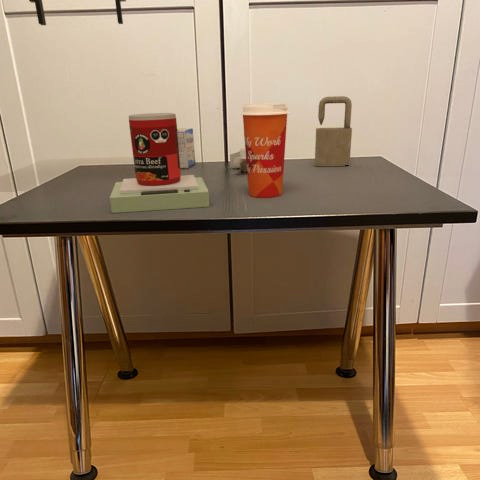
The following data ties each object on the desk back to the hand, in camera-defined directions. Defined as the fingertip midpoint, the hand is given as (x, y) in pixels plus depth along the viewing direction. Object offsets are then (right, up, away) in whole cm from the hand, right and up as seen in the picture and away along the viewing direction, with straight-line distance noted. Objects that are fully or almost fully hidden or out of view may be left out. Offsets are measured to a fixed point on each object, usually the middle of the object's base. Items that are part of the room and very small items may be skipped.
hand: (82, 24), depth 86 cm
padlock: (+51, -16, +29) cm, 60 cm away
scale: (+14, -32, -1) cm, 35 cm away
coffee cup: (+33, -30, +2) cm, 45 cm away
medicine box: (+14, -15, +34) cm, 40 cm away
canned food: (+14, -29, -1) cm, 32 cm away
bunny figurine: (+31, -19, +26) cm, 44 cm away
